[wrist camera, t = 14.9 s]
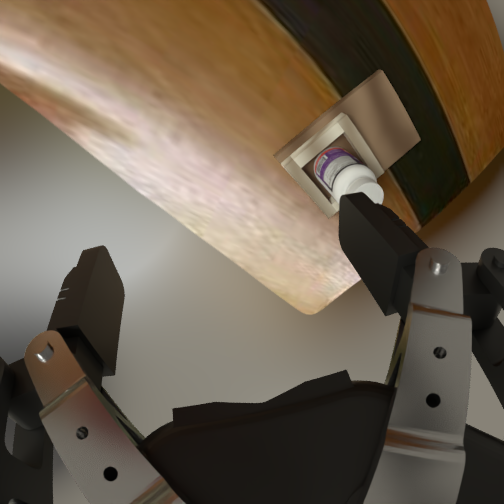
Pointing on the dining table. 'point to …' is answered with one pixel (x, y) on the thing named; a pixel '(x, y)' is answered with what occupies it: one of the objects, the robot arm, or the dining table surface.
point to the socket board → (352, 136)
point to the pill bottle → (345, 175)
